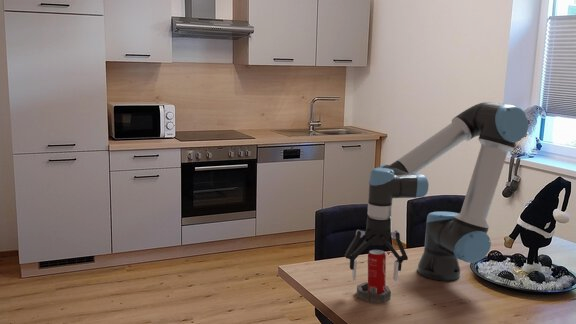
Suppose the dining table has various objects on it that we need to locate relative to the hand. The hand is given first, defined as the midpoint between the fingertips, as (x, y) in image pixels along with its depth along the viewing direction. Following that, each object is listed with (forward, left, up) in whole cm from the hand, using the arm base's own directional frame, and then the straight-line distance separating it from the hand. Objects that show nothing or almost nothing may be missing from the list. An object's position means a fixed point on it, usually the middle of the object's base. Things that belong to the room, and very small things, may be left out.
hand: (374, 279), depth 183 cm
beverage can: (-1, 0, -6) cm, 6 cm away
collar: (0, 0, -6) cm, 6 cm away
